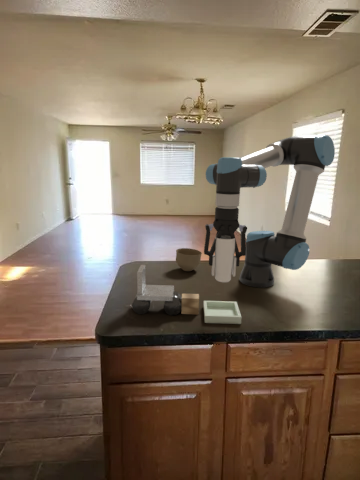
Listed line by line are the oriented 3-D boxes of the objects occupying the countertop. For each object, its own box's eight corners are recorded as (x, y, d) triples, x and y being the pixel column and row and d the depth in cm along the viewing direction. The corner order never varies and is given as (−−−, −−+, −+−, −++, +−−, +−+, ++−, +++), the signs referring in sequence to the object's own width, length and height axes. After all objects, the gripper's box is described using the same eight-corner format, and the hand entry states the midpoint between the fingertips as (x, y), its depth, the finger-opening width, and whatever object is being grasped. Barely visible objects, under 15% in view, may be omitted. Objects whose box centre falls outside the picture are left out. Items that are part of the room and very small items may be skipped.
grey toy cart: (181, 304, 117) (182, 265, 114) (180, 317, 108) (181, 274, 104) (136, 303, 118) (135, 263, 114) (131, 315, 108) (130, 272, 104)
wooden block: (198, 309, 114) (198, 294, 113) (198, 314, 110) (199, 298, 109) (181, 308, 114) (182, 293, 113) (181, 314, 110) (181, 298, 109)
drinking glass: (220, 284, 103) (222, 240, 99) (209, 278, 108) (211, 235, 105) (237, 281, 106) (240, 238, 102) (225, 275, 111) (227, 234, 108)
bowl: (201, 274, 150) (202, 254, 148) (175, 274, 150) (175, 254, 148) (200, 266, 162) (201, 247, 160) (175, 265, 162) (176, 247, 160)
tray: (236, 307, 116) (236, 301, 115) (241, 324, 104) (241, 317, 103) (203, 306, 116) (203, 300, 116) (204, 322, 104) (205, 315, 104)
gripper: (254, 206, 105) (249, 272, 110) (196, 204, 105) (194, 270, 111) (259, 209, 97) (254, 279, 103) (197, 207, 98) (194, 277, 103)
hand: (223, 274), depth 107 cm, fingers closed on drinking glass, 6 cm apart
